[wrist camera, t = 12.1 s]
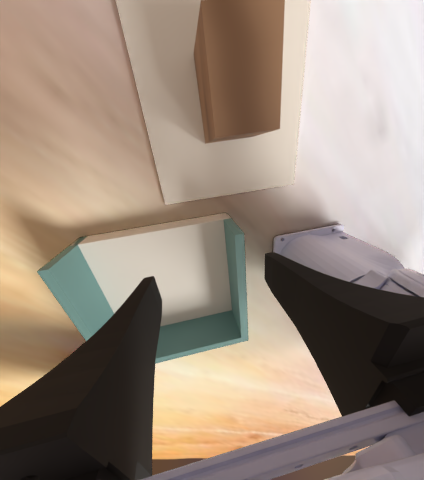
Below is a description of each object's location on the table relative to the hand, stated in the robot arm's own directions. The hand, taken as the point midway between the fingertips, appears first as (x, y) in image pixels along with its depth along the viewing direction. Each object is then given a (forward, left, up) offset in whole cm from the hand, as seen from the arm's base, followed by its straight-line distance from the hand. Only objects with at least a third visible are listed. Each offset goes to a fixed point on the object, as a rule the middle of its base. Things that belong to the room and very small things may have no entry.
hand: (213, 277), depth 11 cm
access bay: (+4, +6, -9) cm, 12 cm away
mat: (-4, -11, -9) cm, 15 cm away
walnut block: (-4, -11, -9) cm, 15 cm away
